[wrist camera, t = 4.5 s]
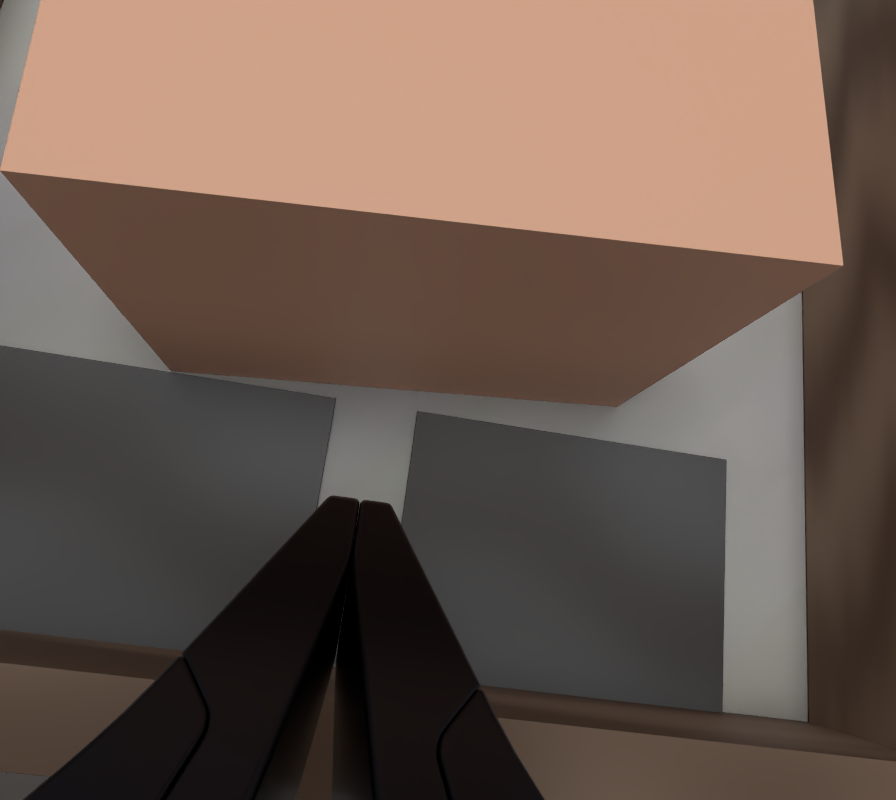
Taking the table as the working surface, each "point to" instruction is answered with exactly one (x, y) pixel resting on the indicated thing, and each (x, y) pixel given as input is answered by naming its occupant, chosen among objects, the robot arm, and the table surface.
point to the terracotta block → (433, 182)
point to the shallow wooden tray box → (490, 536)
